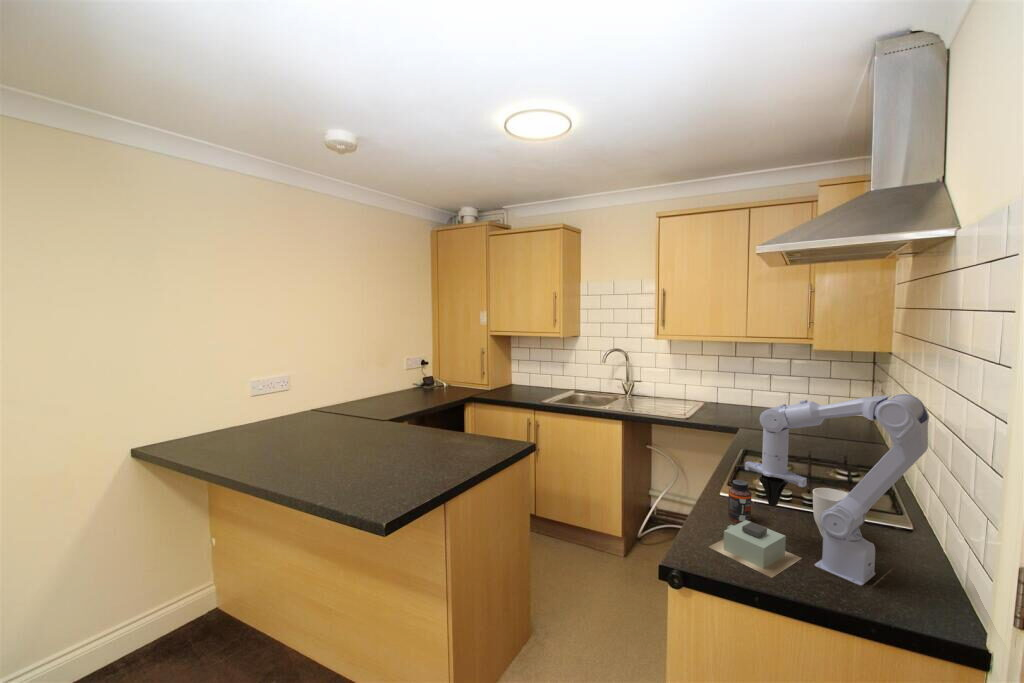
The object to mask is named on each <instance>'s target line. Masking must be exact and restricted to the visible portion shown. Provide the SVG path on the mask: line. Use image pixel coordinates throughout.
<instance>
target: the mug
mask: <svg viewBox="0 0 1024 683" xmlns="http://www.w3.org/2000/svg"><path fill="white" fill-rule="evenodd" d="M848 494H849V492H846V491H842V490H839V489H836V488H835V489H834V488H829V487H817V488H814V489H812V508H813V518H814V521H815V524H816V526H817V528H818V530H819V533H820V535H821V537H822V538H823V527H822V525H821V523H820V516H821V514H822V513H823V512H824V511H825V510H828V509H829V508H831V507H832V506H833V505H835V503H836V502H837V501H839V500H843V499H844V498H845V497H846V496H847V495H848Z"/></svg>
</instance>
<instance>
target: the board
mask: <svg viewBox="0 0 1024 683" xmlns="http://www.w3.org/2000/svg"><path fill="white" fill-rule="evenodd" d="M708 548H709V549H711V550H713V551H716V552H718V553H720V554H721V555H724V556H726V557H728V558H730V559H732V560H734V561H736V562H738V563H740V564H742V565H744V566H747V567H748V568H751V569H753V571H754V570H755V571H757V572H758V573H761V574H763V575H765V576H767V577H769V578H771V579H773V578H774V577H776V576H777V575H779V574H781V573H782V572H783V571H785V570H787V569H788V568H790V567H791V566H792V565H794V564H795V563H798V561H800V560H802V559H803V558H802V557H800V556H798V555H796V554H794V553H791V552H788V551H786V550H785V556H783V557H781V558H780V559H778V560H776V561H775V562H773V563H772V564H770V565H768V566H767V567H765V568H761V567H759V566H757V565H755V564H753V563H751V562H748V561H746V560H744V559H742V558H740V557H738V556H736V555H734V554H732V553H730V552H727V551H725V550H724V538H723V539H720V540H719V541H716V542H715V543H713V544H710V545H709V546H708Z"/></svg>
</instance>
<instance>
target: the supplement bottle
mask: <svg viewBox="0 0 1024 683" xmlns="http://www.w3.org/2000/svg"><path fill="white" fill-rule="evenodd" d="M727 497H728V500H727V501H728V503H727V506H728V507H727V518H728V520H730V521H732V522H734V523H737V524H739V523H741V522H743V521H745V520H747V521H750V522H752V521H751V519H752V491H751V490H750V489H749V483H748V482H747V481H745V480H742V479H733V480H732V486H730V487H729V489H728V496H727Z"/></svg>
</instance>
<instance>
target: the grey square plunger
mask: <svg viewBox="0 0 1024 683" xmlns="http://www.w3.org/2000/svg"><path fill="white" fill-rule="evenodd" d="M767 529H768V528H767V527H765V526H763V525H759V524H757V523H755V522H752V521H750V523H748V524H746V525H744V526H742V531H743V532H745V533H748V534H750V535H753V536H755V537H757V538H759V537H761V536H762V535H764V534H766V533H767Z"/></svg>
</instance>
